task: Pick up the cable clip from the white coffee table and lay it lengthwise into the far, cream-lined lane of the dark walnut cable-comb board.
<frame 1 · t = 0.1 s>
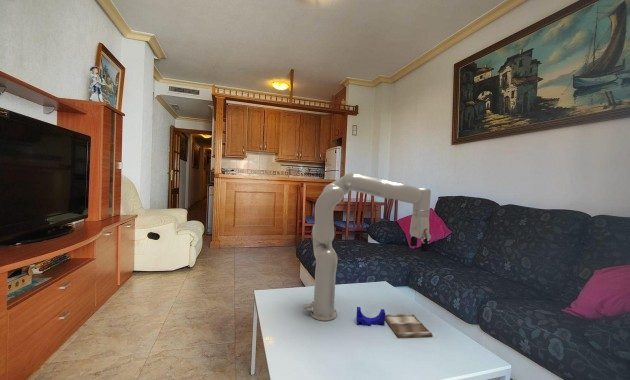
hand: (418, 248, 126), 31 cm above the table, tool pointing down, fingers open, 9 cm apart
organizer board: (406, 327, 114), on the table
cable clip: (370, 324, 115), on the table
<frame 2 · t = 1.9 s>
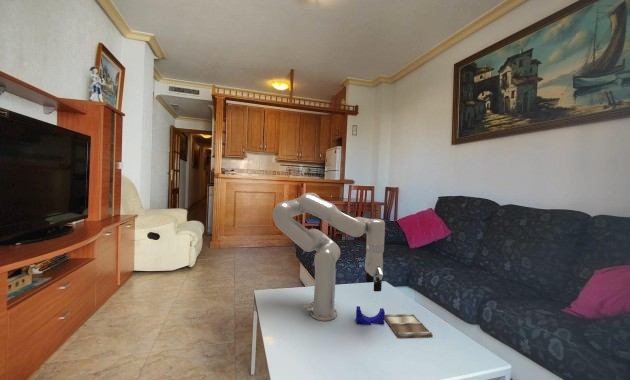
hand: (373, 286, 114), 17 cm above the table, tool pointing down, fingers open, 9 cm apart
nothing on the table moved.
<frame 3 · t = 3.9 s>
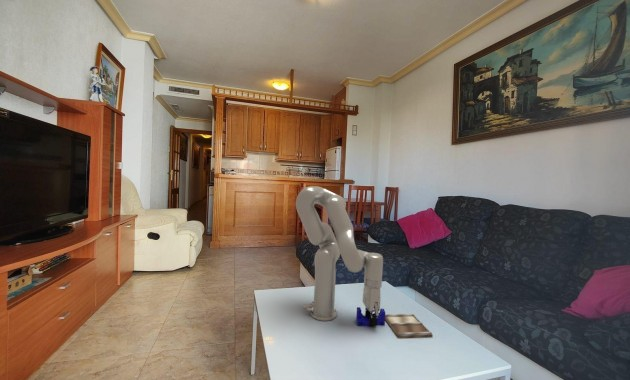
hand: (370, 322, 115), 1 cm above the table, tool pointing down, fingers closed on cable clip, 4 cm apart
cable clip: (370, 324, 115), on the table, touching gripper
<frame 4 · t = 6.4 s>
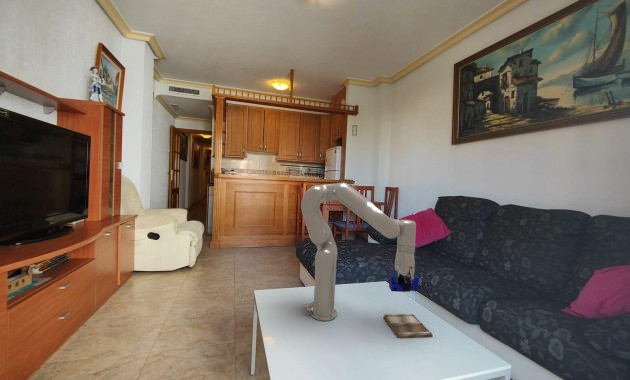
hand: (403, 288, 116), 16 cm above the table, tool pointing down, fingers closed on cable clip, 4 cm apart
cable clip: (403, 290, 116), point 15 cm above the table, touching gripper
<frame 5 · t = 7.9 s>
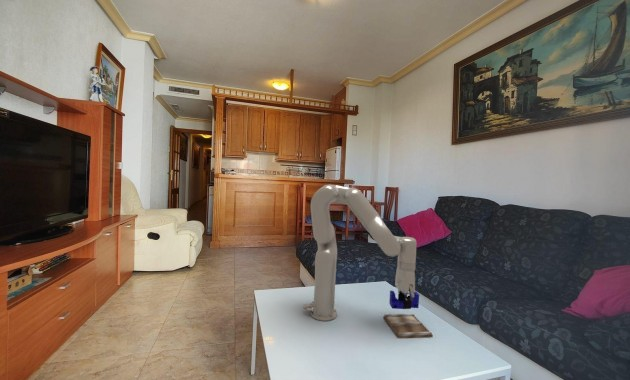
hand: (404, 305, 117), 8 cm above the table, tool pointing down, fingers closed on cable clip, 4 cm apart
cable clip: (404, 307, 117), point 7 cm above the table, touching gripper
when the fingers open (3 cm above the table, at t = 9.2 s): cable clip drops 1 cm, resting on organizer board.
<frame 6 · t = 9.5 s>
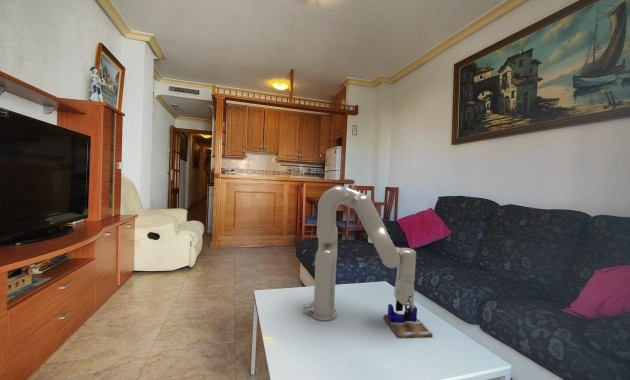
hand: (403, 315, 117), 3 cm above the table, tool pointing down, fingers open, 7 cm apart
cable clip: (402, 320, 117), point 1 cm above the table, touching organizer board
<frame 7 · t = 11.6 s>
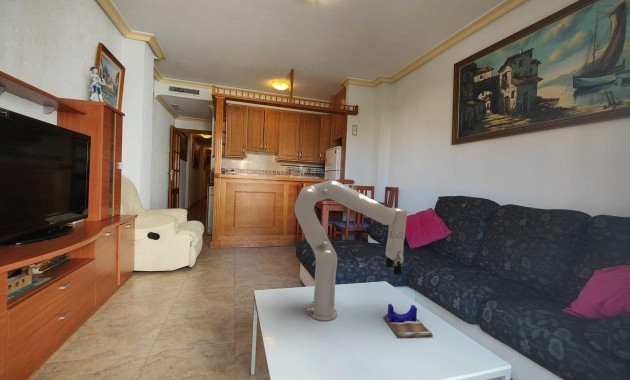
hand: (393, 270, 123), 21 cm above the table, tool pointing down, fingers open, 9 cm apart
nothing on the table moved.
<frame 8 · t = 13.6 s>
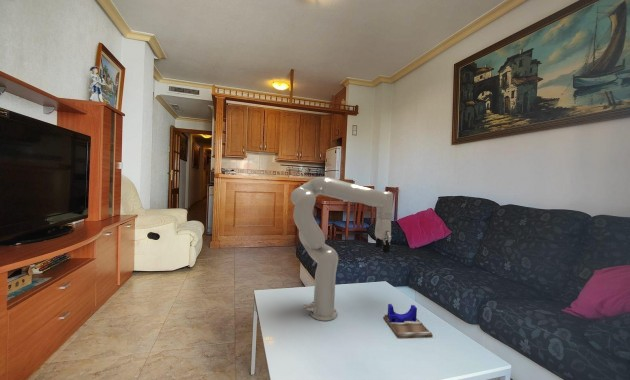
hand: (382, 249, 132), 28 cm above the table, tool pointing down, fingers open, 9 cm apart
nothing on the table moved.
at the end: cable clip 0.2 cm from the target spot on the organizer board, point 0.9 cm above the organizer board's base; cable clip tilted 0°; the gripper is holding nothing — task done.
